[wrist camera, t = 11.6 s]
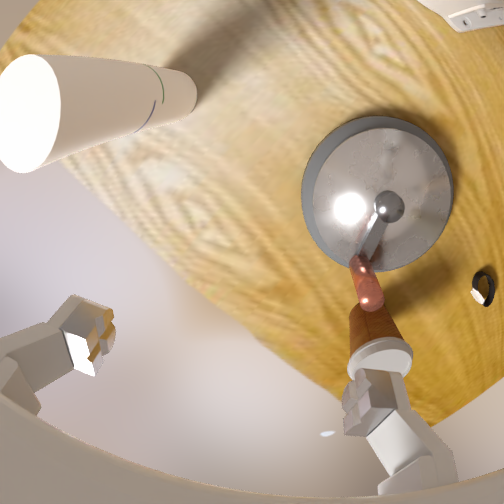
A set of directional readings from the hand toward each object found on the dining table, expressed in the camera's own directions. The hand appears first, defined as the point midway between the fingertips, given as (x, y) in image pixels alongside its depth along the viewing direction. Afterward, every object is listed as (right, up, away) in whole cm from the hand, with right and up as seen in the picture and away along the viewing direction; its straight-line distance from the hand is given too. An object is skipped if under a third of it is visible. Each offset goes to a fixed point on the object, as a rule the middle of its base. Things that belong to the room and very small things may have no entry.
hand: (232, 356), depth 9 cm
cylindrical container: (-10, +23, +25) cm, 35 cm away
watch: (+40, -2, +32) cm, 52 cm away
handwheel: (+17, +9, +26) cm, 32 cm away
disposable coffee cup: (+19, -7, +37) cm, 42 cm away
